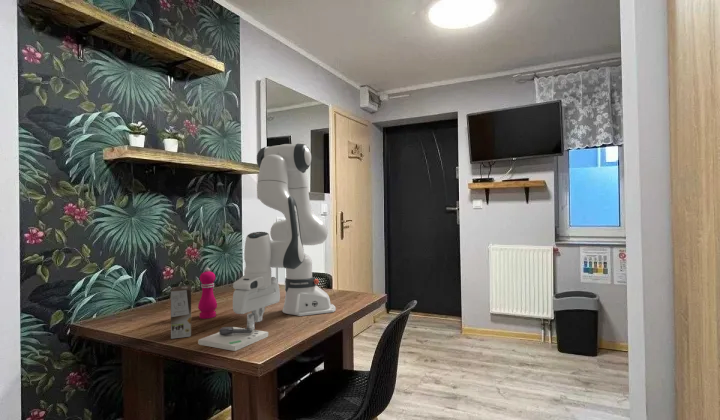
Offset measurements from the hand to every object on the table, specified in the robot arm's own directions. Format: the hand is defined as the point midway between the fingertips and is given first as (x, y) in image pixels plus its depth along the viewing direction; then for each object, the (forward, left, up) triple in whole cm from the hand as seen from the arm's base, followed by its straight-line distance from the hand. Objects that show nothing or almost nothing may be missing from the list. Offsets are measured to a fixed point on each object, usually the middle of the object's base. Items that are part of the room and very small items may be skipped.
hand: (258, 321), depth 130 cm
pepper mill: (+21, -33, -5) cm, 39 cm away
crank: (+7, +1, -3) cm, 7 cm away
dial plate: (+8, +2, -5) cm, 9 cm away
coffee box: (+26, -10, -5) cm, 28 cm away
